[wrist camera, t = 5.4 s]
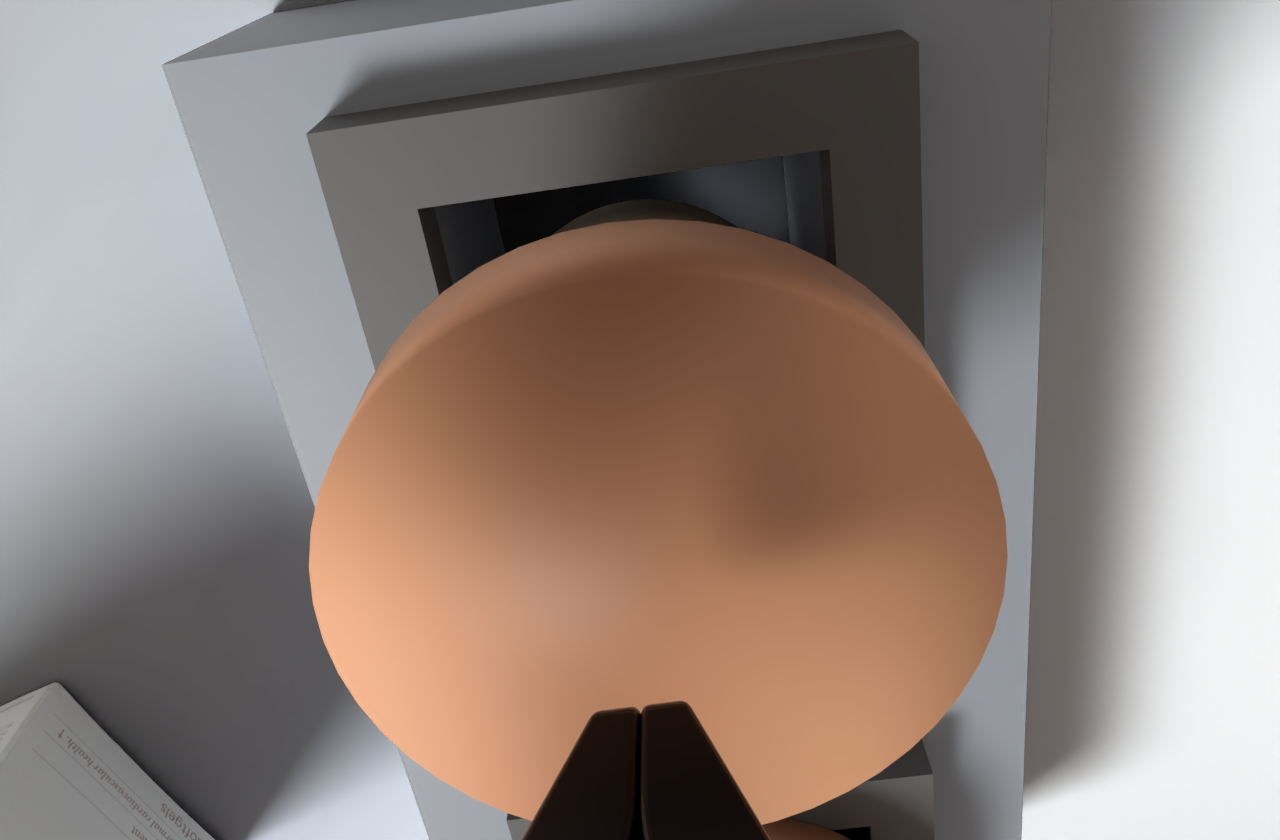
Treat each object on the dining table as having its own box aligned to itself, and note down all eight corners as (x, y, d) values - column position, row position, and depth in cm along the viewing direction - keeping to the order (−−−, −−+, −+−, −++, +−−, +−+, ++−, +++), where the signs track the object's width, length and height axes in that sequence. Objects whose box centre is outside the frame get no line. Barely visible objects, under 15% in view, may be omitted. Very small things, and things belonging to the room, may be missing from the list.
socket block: (951, -95, 18) (1082, -70, 13) (957, 833, 29) (1029, 1053, 24) (271, 13, 19) (131, 79, 14) (523, 878, 30) (500, 1101, 25)
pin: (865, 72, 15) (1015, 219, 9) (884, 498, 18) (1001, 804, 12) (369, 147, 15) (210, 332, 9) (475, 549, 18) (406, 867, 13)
